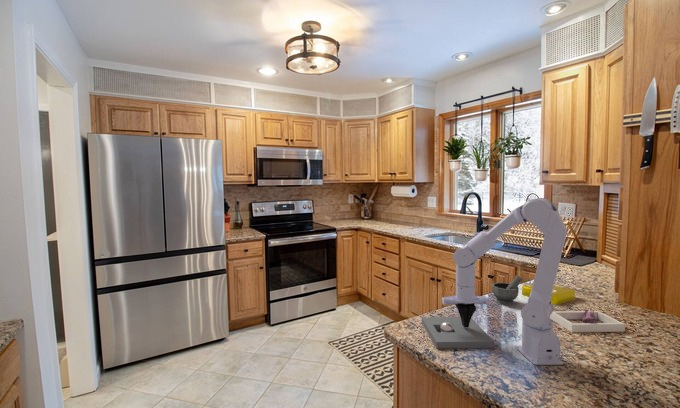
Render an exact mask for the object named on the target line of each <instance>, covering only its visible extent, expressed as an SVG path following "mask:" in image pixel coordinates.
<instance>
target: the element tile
mask: <svg viewBox="0 0 680 408" xmlns="http://www.w3.org/2000/svg"><path fill="white" fill-rule="evenodd" d="M533 283H534V282H532V283H526V284H523V285H521V295H522V296H525V297H528V298H529V296H530V293H531V291H532V287H533ZM575 300H576V289H574V288H570V287H566V286H562V285H559V284H555V283H554V287H553V291H552V299H551V304H552V305H555V306H556V305H558V306H559V305H563V304H564V303H565V304H566V303H570V302H572V301H575Z"/></svg>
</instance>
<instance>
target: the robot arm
mask: <svg viewBox="0 0 680 408" xmlns="http://www.w3.org/2000/svg"><path fill="white" fill-rule="evenodd" d="M527 222H528V223H531V224H532V225H534V226H536V228H537V229H539V231H540V232H541V233H542V234H543V235H544V236H543V237H544V238H543V241H542V245H541V250H540V253H539V254H540V255H539V258H538V263H537V267H536V271H535V274H534V279H533V282H532V283H533V287H532V291H531V293H530V296H529V297H528V299H527V303H526V305H524V306H523V307H522V308H521V311H520V316H521V319H522V320H521V321H522V324H521V327H522V328H521V329H522V331H521V345H515V349H516V350H517V351H519V353H521V354H522V355H523V356H524V357H525V358H526V359H527V360H528V361H529V362H530V363H532V364H533V365H534V366H541V365H543V366H545V365H547V366H549V365H550V366H551V365H552V366H553V365H562V366H563V365H564V362H563V360H561V339H560V338H559V336H558V335H557V334H555V332H554V329H553V323H552V321H551V319H550V315H551V314H552V312H553V311H554V308H553V304H551V299H552V291H553V287H554V284H555V282H556V278H557V274H558V272H559V271H558V270H559V266H560V262H561V258H562V254H563V250H564V246H565V242H566V237H567V234H568V229H567V227H566V226H565V223H564V221H563V219H562V216H561V214H560V213H559V209H558V207H557V206H556V205H555V204H554V203H552V202H551V201H550V200H549V199H547V198H544V197H537V198H532V199H529V200H527V201H525V202H524V203H523V204H521V205H518V207H516V208H514V209H513V210H511V211H510V212H509V213H508V214H507V215H505V217H503V218H502V219H501V220H500V221H498V222H497V223H496V224H495V225H493V227H491V228H490V229H489V230H488V231H483V230H482V231H480V232H479V231H477V232H475V233H474V234H473V238H471V239H470V240H469V241H468V242H467V241H466V242H464V243H463V244H462V245H463V247H459V248H457V249H456V250H455V252H453V255H452V258H453V262H454V263H455V295H452V296H451V295H450V296H445V297H441V304H442V305H443V306H448V305H454V306H455V307H456V309H457V312H458V314H459V317H461V321H462V325H463V326H464V327H469V323H470V320H471V318H473V315H474V313H476V310H477V306H476V305H478V304H479V305H484V304H485V305H490V298H489V297H487V296H481V295H476V266H475V265H476V263H477V261H478V259H480V258H481V257H482V256H483V255H485V254H486V253H488V252H489V251H490V250H491V249H493V248H495V247H496V240H497V239H499V238H500V237H501V236H503V234H505V233H507V232H508V231H510V230H511V229H512V228H514V227H515V226H516V225H519V224H524V223H527Z"/></svg>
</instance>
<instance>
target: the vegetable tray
mask: <svg viewBox="0 0 680 408" xmlns="http://www.w3.org/2000/svg"><path fill="white" fill-rule="evenodd" d="M585 311H586V310H581V311H580V310H576V311H575V310H573V311H572V310H566V311H565V310H562V311H559V310H558V311H554V310H553V312H552V314H551V315H550V317H549V319H550V320H552V321H554V322H555V323H556V324H558V325H560V326H561V327H563V328H564V329H566V330H568V331H569V332H570V333H612V332H614V333H619V332H622V333H624V332H626V324H625V323H623V322H621V321H619V320H618V319H615V318H613V317H611V316H609V315H607V314H605V313H604V312H601V311H600V310H594V316H595V317H596V320H597V321H600V322H597V323H591V322H590V323H582V322H576V323H574V322H572V321H570V320H583V317H584V312H585ZM587 311H588V312H590V310H587ZM592 313H593V312H592ZM593 318H594V317H593ZM589 319H590V320H592V319H591V318H589Z"/></svg>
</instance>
